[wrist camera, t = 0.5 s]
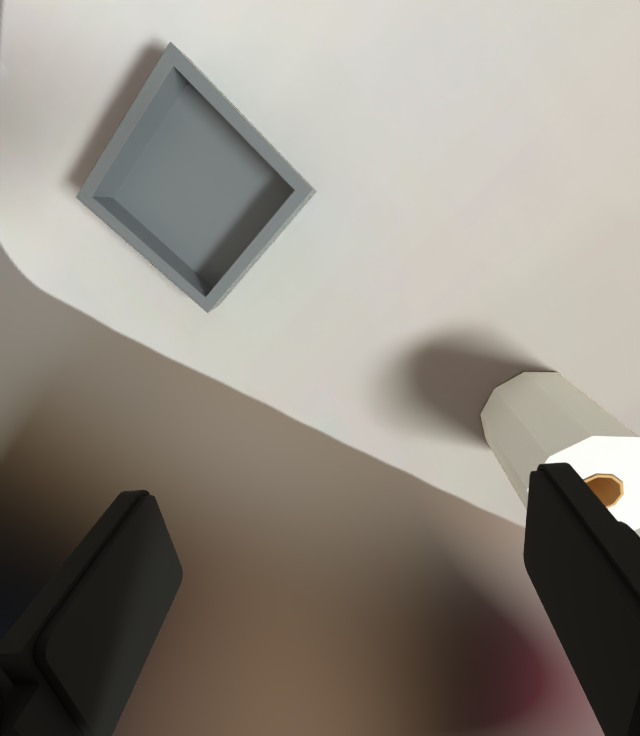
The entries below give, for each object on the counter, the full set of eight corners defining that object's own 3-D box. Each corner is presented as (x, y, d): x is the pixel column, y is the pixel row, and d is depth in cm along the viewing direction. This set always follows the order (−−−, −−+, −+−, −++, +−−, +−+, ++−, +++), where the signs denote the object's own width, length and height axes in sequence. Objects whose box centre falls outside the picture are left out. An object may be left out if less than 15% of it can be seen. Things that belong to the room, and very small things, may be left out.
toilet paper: (565, 460, 42) (642, 551, 31) (469, 450, 43) (511, 535, 31) (598, 376, 38) (700, 444, 27) (493, 365, 39) (550, 428, 28)
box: (189, 59, 31) (170, 41, 28) (316, 191, 34) (312, 189, 31) (101, 198, 35) (75, 197, 32) (220, 304, 38) (207, 312, 35)
